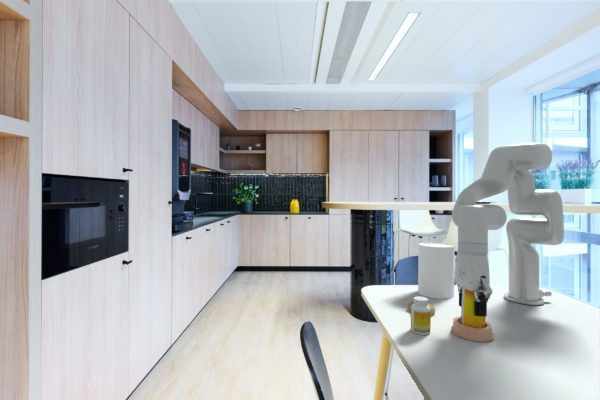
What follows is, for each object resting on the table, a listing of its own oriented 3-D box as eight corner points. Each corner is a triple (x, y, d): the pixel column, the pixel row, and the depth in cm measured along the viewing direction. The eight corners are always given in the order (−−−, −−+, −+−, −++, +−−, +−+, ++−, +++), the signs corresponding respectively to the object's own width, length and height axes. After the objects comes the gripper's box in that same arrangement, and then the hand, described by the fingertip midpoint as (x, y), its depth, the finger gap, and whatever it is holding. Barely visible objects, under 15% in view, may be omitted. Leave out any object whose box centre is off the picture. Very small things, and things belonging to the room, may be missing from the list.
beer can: (488, 336, 86) (490, 281, 86) (464, 333, 87) (466, 279, 87) (480, 327, 92) (482, 276, 92) (457, 325, 93) (460, 274, 93)
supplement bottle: (407, 328, 93) (407, 296, 93) (422, 326, 94) (422, 294, 94) (418, 336, 88) (418, 301, 88) (434, 334, 89) (434, 300, 89)
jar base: (478, 326, 95) (479, 315, 95) (502, 342, 84) (502, 330, 84) (444, 326, 95) (444, 315, 95) (464, 342, 84) (464, 330, 84)
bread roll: (415, 317, 103) (415, 305, 103) (405, 308, 112) (405, 296, 112) (440, 317, 103) (440, 305, 103) (428, 307, 112) (428, 296, 112)
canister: (443, 288, 136) (443, 242, 136) (461, 298, 122) (461, 247, 123) (412, 289, 135) (413, 242, 135) (427, 298, 122) (427, 247, 122)
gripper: (444, 244, 98) (444, 301, 98) (477, 253, 81) (477, 322, 81) (468, 244, 98) (467, 301, 98) (506, 253, 81) (506, 322, 81)
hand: (472, 310), depth 90 cm, fingers open, 7 cm apart
